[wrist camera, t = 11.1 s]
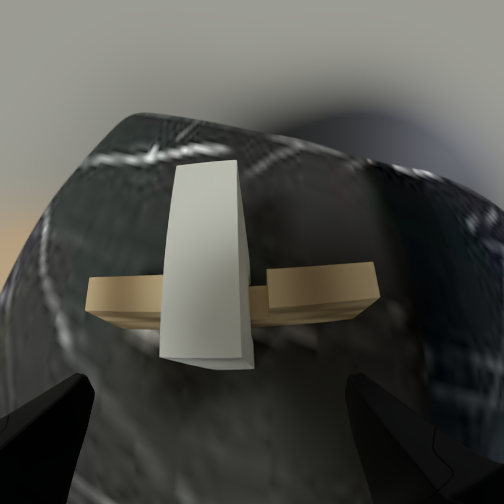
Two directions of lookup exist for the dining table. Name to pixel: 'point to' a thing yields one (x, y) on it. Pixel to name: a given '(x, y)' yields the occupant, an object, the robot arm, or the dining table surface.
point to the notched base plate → (261, 297)
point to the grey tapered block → (207, 271)
